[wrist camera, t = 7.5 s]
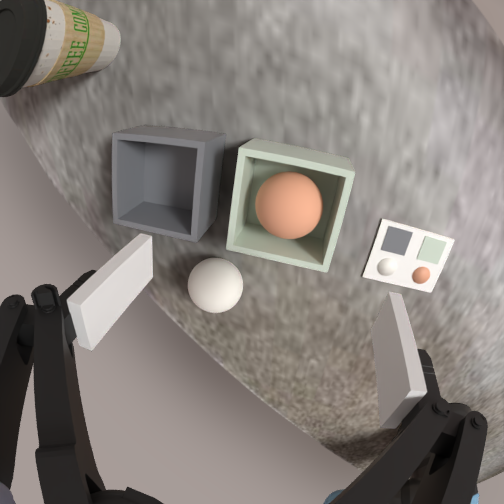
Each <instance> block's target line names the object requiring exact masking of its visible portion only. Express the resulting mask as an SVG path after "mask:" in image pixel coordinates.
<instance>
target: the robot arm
mask: <svg viewBox="0 0 504 504" xmlns="http://www.w3.org/2000/svg"><path fill="white" fill-rule="evenodd" d="M152 278H153V266H152V236H149V235H145V234H141V233H140V234H139V235H138V236H137V237H135V238H134V239H133V240H132V241H131V242H130V243H128V244H127V245H126V246H125V247H124V248H123V249H121V250H120V251H119V252H118V253H117V254H116V255H115V256H113V257H112V259H110V260H109V261H108V262H107V263H106V264H105V265H103V266H102V267H101V268H100V269H99V270H98V271H95V270H91V271H89V272H87V273H84V274H83V275H82V276H81V277H80V278H79V279H78V280H77V281H75V282H74V283H73V285H71V286H70V287H69V288H68V289H66V290H65V291H64V292H63V293H62V294H61V295H60V296H59V294H58V290H57V288H56V287H55V286H54V285H51V284H44V285H40V286H38V287H37V288H35V289H34V290H33V291H32V293H31V297H32V300H33V303H34V305H28V304H26V303H25V300H24V297H22V296H21V295H12V296H9V297H7V298H6V299H5V300H4V301H3V302H2V304H1V306H0V504H16V503H15V501H14V500H13V495H12V493H11V491H10V488H11V483H12V479H13V472H14V466H15V456H16V448H17V441H18V434H19V427H20V421H21V416H22V410H23V405H24V400H25V395H26V391H27V387H28V382H29V378H30V374H31V370H32V366H33V362H34V394H35V409H36V419H37V420H36V421H37V430H38V438H39V448H37V449H36V452H35V457H36V464H37V470H38V475H39V481H40V486H41V490H42V495H43V499H44V503H45V504H163V503H162V502H160V501H159V500H157V499H155V498H153V497H151V496H148V495H146V494H144V493H141V492H139V491H136V490H134V489H132V488H129V487H127V488H126V490H125V491H123V490H106V489H105V486H104V483H103V481H102V479H101V477H100V475H99V473H98V470H97V467H96V463H95V459H94V456H93V452H92V448H91V445H90V440H89V436H88V431H87V427H86V422H85V418H84V413H83V408H82V402H81V397H80V391H79V385H78V378H77V370H76V364H75V354H74V346H73V343H72V342H73V340H74V339H75V338H76V337H77V340H78V343H79V345H80V346H81V347H83V348H86V349H88V350H90V351H93V349H94V348H95V347H96V346H97V344H98V343H99V342H100V340H101V339H102V338H103V337H104V335H105V334H106V333H107V332H108V330H109V329H110V328H111V327H112V325H113V324H114V323H115V322H116V321H117V319H118V318H119V317H120V316H121V314H122V313H123V312H124V311H125V310H126V308H127V307H128V306H129V305H130V303H131V302H132V301H133V300H134V299H135V298H136V296H137V295H138V294H139V293H140V292H141V290H142V289H143V288H144V287H145V286H146V285H147V283H148V282H149V281H150V280H151V279H152ZM371 334H372V342H373V350H374V359H375V368H376V378H377V390H378V402H379V417H380V428H390V429H396V428H397V426H398V425H399V424H400V423H401V422H402V426H401V428H400V429H399V431H398V435H397V436H396V437H395V438H394V439H393V440H392V442H391V443H390V444H389V445H388V446H387V447H386V448H385V449H384V451H383V452H382V453H381V454H380V455H379V456H378V457H377V458H376V459H375V460H374V461H373V462H372V463H371V464H370V465H369V466H368V467H367V468H366V469H365V470H364V471H363V472H362V473H361V475H359V476H358V477H357V478H356V479H355V480H354V481H353V482H352V483H351V484H350V485H349V486H348V487H347V488H346V489H344V490H337V491H335V492H333V493H331V494H330V495H329V496H328V497H327V498H326V500H325V502H324V503H323V504H478V497H479V494H478V490H477V483H476V482H477V478H478V474H479V470H480V466H481V461H482V456H483V451H484V446H485V441H486V435H487V428H488V425H487V421H486V418H485V417H484V416H483V415H482V414H481V413H480V412H477V411H471V409H470V407H468V406H467V405H464V404H459V403H453V404H449V403H448V402H447V401H446V400H445V399H443V398H441V396H440V392H439V388H438V384H437V380H436V376H435V372H434V368H433V364H432V361H431V358H430V356H429V355H428V353H427V352H426V351H425V350H421V349H417V346H416V343H415V339H414V335H413V332H412V328H411V325H410V321H409V318H408V314H407V311H406V308H405V304H404V301H403V298H402V295H401V294H398V293H394V292H388V294H387V296H386V299H385V301H384V303H383V305H382V308H381V310H380V312H379V314H378V316H377V318H376V320H375V322H374V325H373V327H372V329H371ZM409 478H410V479H409Z"/></svg>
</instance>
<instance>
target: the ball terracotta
mask: <svg viewBox="0 0 504 504" xmlns="http://www.w3.org/2000/svg"><path fill="white" fill-rule="evenodd" d="M255 208H256V214H257V217H258V219H259V221H260V223H261V225H262V226H263V227H264V228H265V229H266V230H267V231H268V232H269V233H271V234H272V235H274V236H277V237H279V238H283V239H296V238H300V237H303V236H305V235H307V234H308V233H310V232H311V231H312V230H313V229H314V228H315V227H316V226H317V224H318V223H319V221H320V219H321V216H322V212H323V199H322V195H321V193H320V190H319V188H318V187H317V185H316V184H315V183H314V182H313V181H312V180H311V179H310V178H308V177H307V176H305V175H303V174H301V173H297V172H292V171H287V172H281V173H277V174H275V175H273V176H271V177H270V178H268V179H267V180H266V181H265V182H264V183H263V184H262V186H261V187H260V189H259V191H258V193H257V196H256V202H255Z"/></svg>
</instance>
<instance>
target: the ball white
mask: <svg viewBox="0 0 504 504" xmlns="http://www.w3.org/2000/svg"><path fill="white" fill-rule="evenodd" d="M188 291H189V294H190V297H191V299H192V300H193V302H194V303H195V304H196V305H197V306H198V307H199V308H201V309H202V310H205V311H207V312H212V313H219V312H224V311H227V310H229V309H230V308H232V307H233V306H234V305H235V304H236V303H237V302H238V300H239V299H240V297H241V294H242V291H243V280H242V276H241V274H240V272H239V270H238V269H237V268H236V266H235V265H233V264H232V263H231V262H229V261H228V260H225V259H222V258H208V259H205V260H203V261H201V262H200V263H198V264H197V265H196V266H195V267H194V268H193V270H192V271H191V273H190V276H189V279H188Z"/></svg>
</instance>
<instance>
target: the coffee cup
mask: <svg viewBox="0 0 504 504" xmlns="http://www.w3.org/2000/svg"><path fill="white" fill-rule="evenodd" d="M120 42H121V37H120V32H119V30H118V28H117V27H116V26H115V25H114V24H112V23H110V22H107V21H105V20H102V19H100V18H99V17H97V16H96V15H93V14H91V13H88V12H86V11H83V10H81V9H78V8H75V7H72V6H70V5H67V4H64V3H61V2H58V1H55V0H1V1H0V97H8V96H11V95H13V94H15V93H16V92H18V91H19V90H20V89H21V88H24V87H33V86H36V85H40V84H44V83H47V82H51V81H55V80H59V79H64V78H68V77H73V76H77V75H80V74H83V73H87V72H93V71H98V70H102V69H104V68H106V67H107V66H108V65H110V63H111V62H112V61H113V60H114V59H115V57H116V55H117V53H118V51H119V48H120Z"/></svg>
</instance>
